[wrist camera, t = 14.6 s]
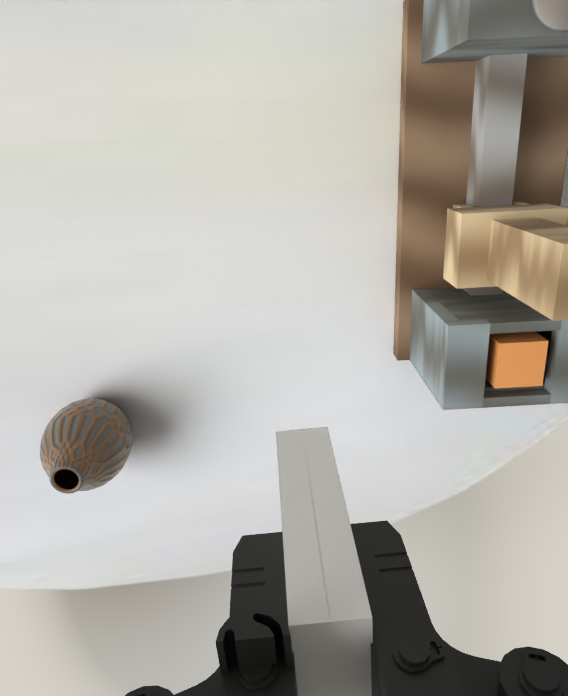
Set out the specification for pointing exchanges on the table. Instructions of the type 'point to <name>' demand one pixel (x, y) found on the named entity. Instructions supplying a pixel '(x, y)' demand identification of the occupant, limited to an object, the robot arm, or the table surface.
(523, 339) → the button
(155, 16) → the table surface
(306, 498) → the robot arm
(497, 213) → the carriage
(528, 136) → the rail track
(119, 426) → the vase
